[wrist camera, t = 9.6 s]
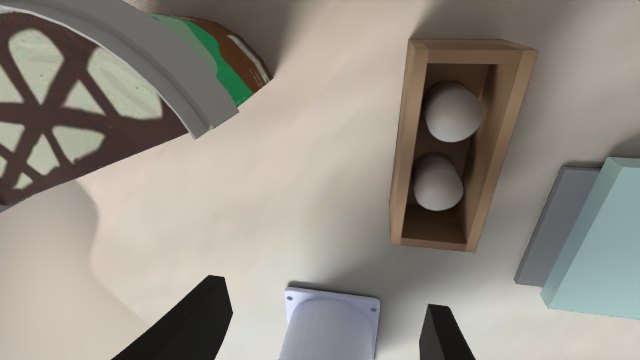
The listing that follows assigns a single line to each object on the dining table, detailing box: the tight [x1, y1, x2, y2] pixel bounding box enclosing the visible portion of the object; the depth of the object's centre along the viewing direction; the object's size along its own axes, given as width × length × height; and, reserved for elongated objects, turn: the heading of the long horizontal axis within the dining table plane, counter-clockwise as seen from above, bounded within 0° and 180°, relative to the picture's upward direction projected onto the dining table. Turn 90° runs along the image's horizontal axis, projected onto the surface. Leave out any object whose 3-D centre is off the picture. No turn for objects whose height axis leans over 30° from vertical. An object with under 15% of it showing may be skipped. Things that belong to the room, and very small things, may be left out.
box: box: [389, 39, 538, 253], centre depth 16 cm, size 10×4×4 cm, turn 1°
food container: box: [0, 0, 273, 213], centre depth 14 cm, size 12×6×10 cm, turn 113°
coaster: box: [514, 166, 601, 287], centre depth 19 cm, size 9×9×1 cm
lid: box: [540, 157, 640, 320], centre depth 18 cm, size 11×6×1 cm, turn 1°
